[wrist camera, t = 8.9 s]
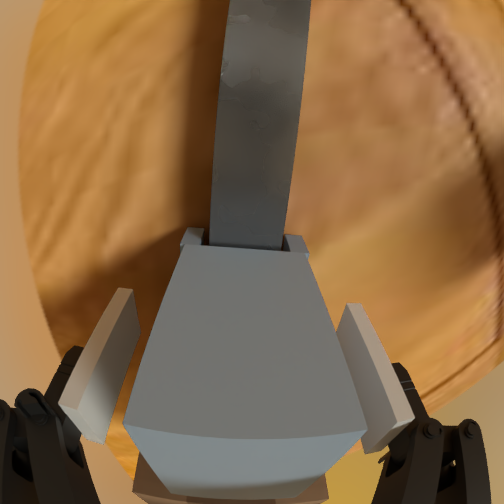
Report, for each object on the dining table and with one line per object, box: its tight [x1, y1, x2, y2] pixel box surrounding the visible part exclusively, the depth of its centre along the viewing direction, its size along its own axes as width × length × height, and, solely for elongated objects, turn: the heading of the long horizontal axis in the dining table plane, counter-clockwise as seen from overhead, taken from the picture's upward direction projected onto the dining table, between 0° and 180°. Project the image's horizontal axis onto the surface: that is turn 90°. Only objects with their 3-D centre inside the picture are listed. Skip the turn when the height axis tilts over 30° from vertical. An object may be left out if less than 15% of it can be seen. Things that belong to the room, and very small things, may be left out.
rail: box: [209, 0, 311, 251], centre depth 9 cm, size 30×5×4 cm, turn 174°
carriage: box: [123, 227, 368, 500], centre depth 10 cm, size 7×5×10 cm
